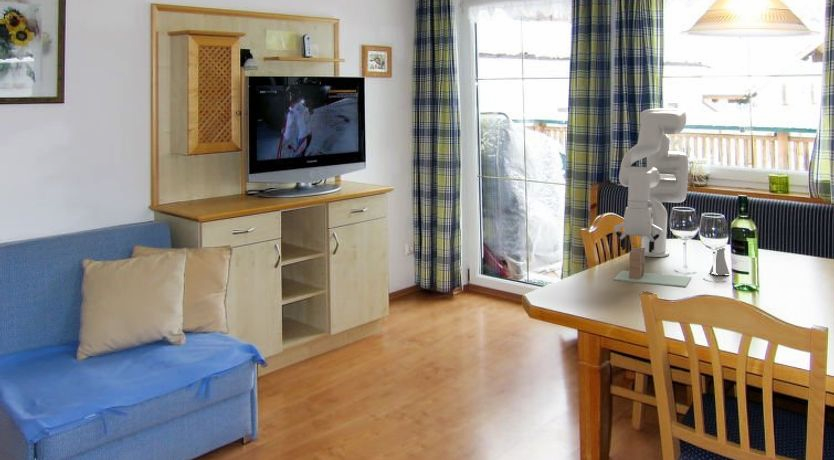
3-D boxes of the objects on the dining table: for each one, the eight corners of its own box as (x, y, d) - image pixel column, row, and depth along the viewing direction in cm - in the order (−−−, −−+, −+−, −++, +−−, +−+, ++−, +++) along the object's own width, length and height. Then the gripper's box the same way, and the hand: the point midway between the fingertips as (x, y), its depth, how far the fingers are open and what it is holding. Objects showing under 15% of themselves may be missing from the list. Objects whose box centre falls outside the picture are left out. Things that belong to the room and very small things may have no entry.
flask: (726, 271, 286) (727, 245, 284) (732, 276, 279) (734, 250, 277) (706, 271, 287) (707, 245, 285) (712, 276, 280) (713, 250, 278)
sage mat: (621, 271, 289) (621, 270, 289) (691, 278, 277) (691, 277, 277) (614, 280, 277) (614, 278, 277) (685, 287, 266) (686, 285, 266)
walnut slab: (632, 273, 284) (633, 247, 282) (643, 274, 283) (644, 248, 281) (628, 278, 277) (629, 251, 275) (639, 279, 276) (640, 252, 274)
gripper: (665, 204, 274) (663, 250, 278) (616, 201, 282) (615, 246, 286) (661, 207, 268) (659, 254, 271) (612, 205, 276) (611, 250, 279)
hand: (637, 250), depth 279 cm, fingers open, 9 cm apart
